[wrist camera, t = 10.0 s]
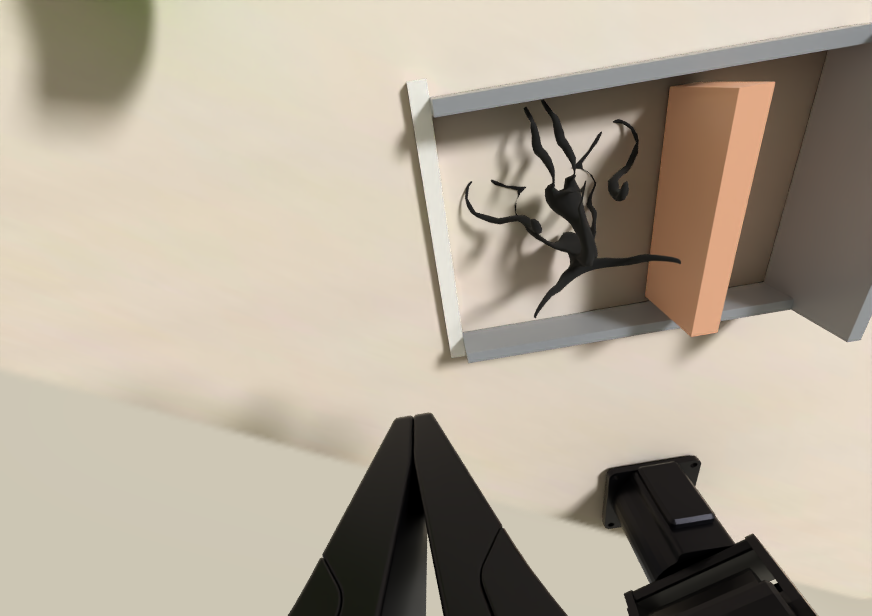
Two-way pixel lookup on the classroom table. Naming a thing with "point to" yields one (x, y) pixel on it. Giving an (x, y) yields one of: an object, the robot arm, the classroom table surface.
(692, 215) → the tall tan plank
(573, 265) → the creature
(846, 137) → the frame
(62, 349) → the classroom table surface
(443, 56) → the classroom table surface
